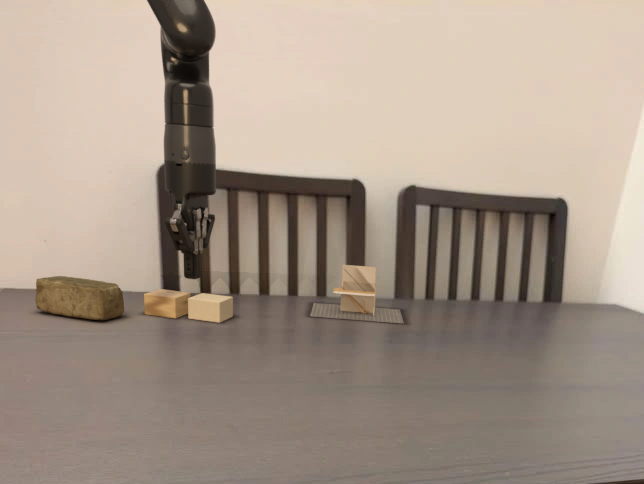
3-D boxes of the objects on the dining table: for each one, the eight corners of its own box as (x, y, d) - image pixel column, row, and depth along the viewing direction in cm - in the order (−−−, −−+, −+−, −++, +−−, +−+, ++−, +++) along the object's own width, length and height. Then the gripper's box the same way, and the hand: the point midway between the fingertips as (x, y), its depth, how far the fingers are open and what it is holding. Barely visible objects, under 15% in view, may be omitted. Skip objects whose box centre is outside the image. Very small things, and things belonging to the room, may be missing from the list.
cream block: (188, 318, 108) (187, 298, 106) (202, 312, 112) (202, 292, 111) (219, 322, 107) (219, 302, 106) (233, 316, 111) (233, 296, 110)
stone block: (104, 324, 101) (101, 287, 98) (32, 313, 103) (28, 277, 101) (127, 316, 106) (125, 281, 104) (59, 307, 108) (55, 272, 106)
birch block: (144, 314, 108) (143, 293, 107) (160, 308, 112) (160, 288, 111) (175, 318, 107) (175, 298, 106) (190, 312, 112) (190, 292, 110)
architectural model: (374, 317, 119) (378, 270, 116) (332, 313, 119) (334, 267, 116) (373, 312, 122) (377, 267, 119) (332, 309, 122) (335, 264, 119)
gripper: (186, 157, 115) (189, 270, 122) (144, 156, 103) (150, 281, 110) (231, 161, 114) (230, 275, 121) (193, 161, 102) (196, 287, 109)
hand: (192, 278), depth 116 cm, fingers closed
